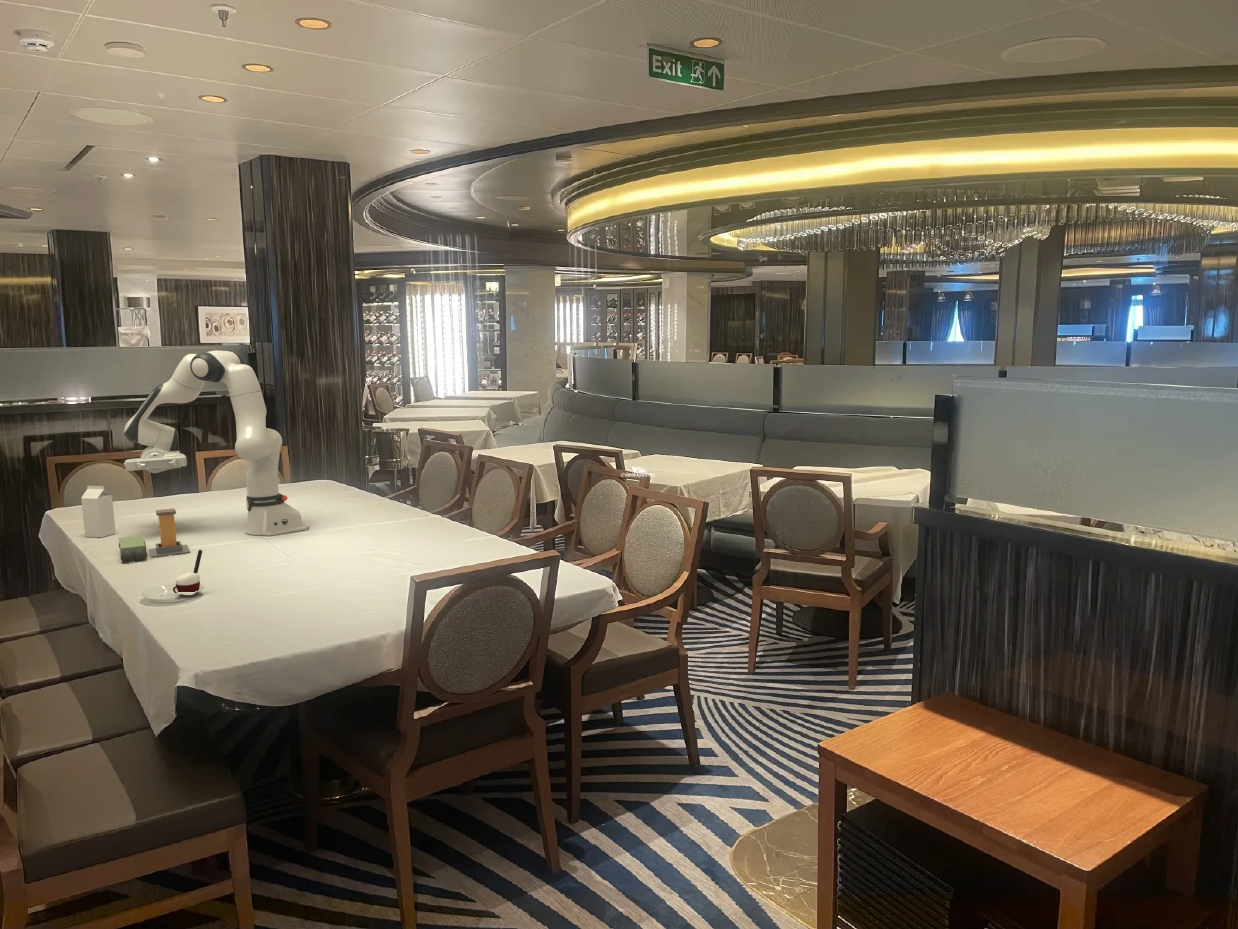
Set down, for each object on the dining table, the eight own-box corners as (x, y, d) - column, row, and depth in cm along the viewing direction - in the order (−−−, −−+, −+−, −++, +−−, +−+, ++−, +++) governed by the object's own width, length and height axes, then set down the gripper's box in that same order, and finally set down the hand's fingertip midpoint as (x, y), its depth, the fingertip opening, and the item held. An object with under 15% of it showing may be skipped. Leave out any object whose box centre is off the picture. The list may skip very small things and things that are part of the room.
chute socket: (186, 546, 307) (186, 538, 307) (190, 553, 297) (189, 545, 296) (148, 550, 301) (148, 543, 300) (150, 558, 291) (150, 550, 290)
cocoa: (175, 601, 245) (169, 560, 242) (170, 595, 250) (165, 555, 247) (211, 593, 250) (206, 553, 248) (206, 587, 255) (201, 548, 253)
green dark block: (144, 548, 305) (143, 534, 304) (148, 560, 287) (146, 546, 287) (119, 551, 301) (117, 537, 300) (121, 564, 283) (119, 549, 283)
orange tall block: (177, 547, 303) (174, 508, 301) (179, 550, 298) (175, 511, 296) (159, 549, 300) (155, 510, 298) (160, 553, 295) (156, 513, 293)
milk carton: (101, 538, 321) (96, 487, 318) (85, 537, 322) (79, 487, 319) (116, 533, 328) (111, 484, 325) (99, 533, 329) (94, 484, 326)
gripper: (122, 455, 319) (123, 459, 307) (183, 450, 329) (187, 454, 318) (124, 471, 320) (125, 476, 308) (185, 466, 330) (188, 471, 319)
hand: (157, 465), depth 313 cm, fingers open, 8 cm apart
